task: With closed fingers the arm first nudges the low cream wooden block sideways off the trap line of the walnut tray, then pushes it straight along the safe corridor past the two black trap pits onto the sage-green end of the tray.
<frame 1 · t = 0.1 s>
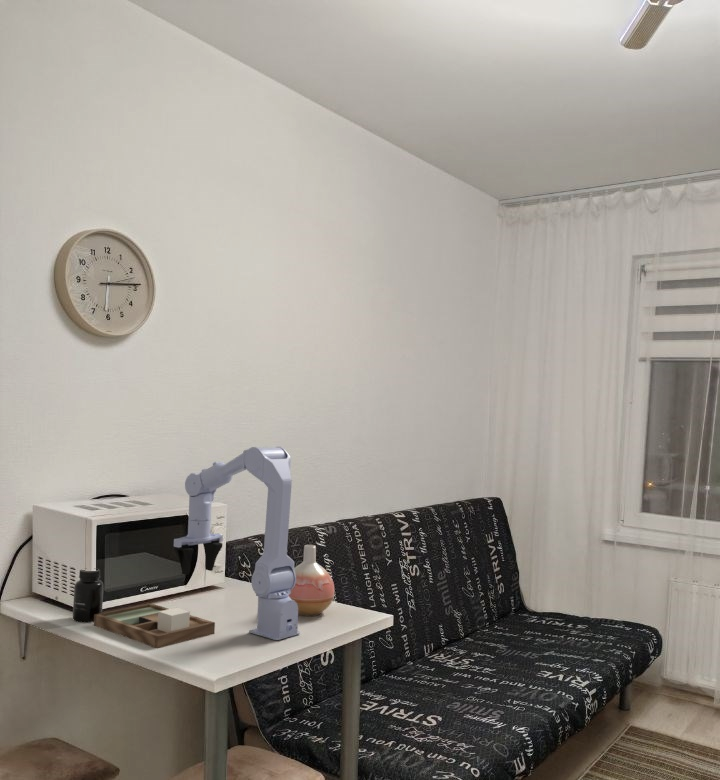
hand: (197, 572, 201), 10 cm above the table, fingers open, 7 cm apart
vase: (307, 614, 202), on the table
cream block: (173, 629, 177), point 2 cm above the table, touching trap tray
supplement bottle: (87, 620, 190), on the table
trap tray: (153, 629, 183), on the table
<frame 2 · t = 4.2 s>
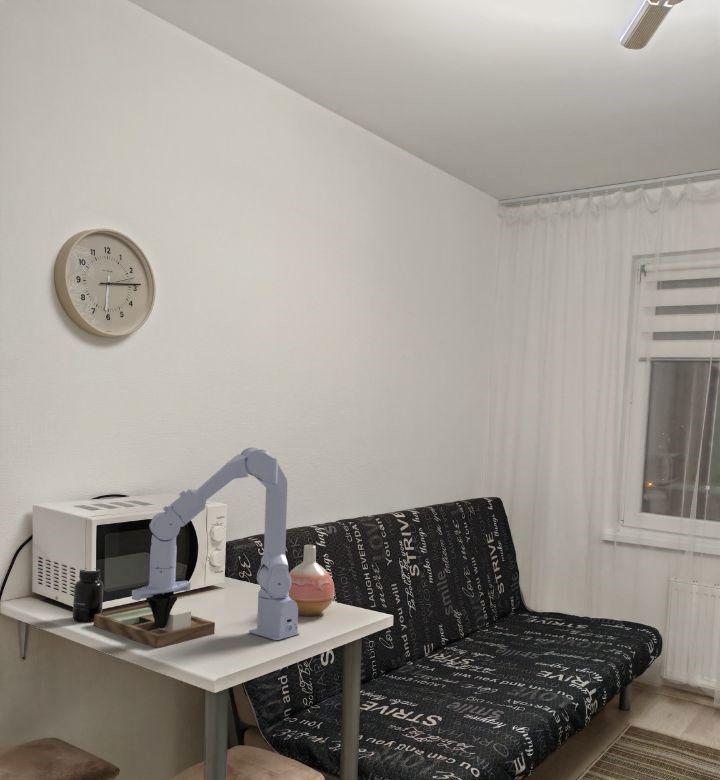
hand: (160, 627, 174), 3 cm above the table, fingers closed
cream block: (174, 628, 177), point 2 cm above the table, touching gripper
everything else where it was.
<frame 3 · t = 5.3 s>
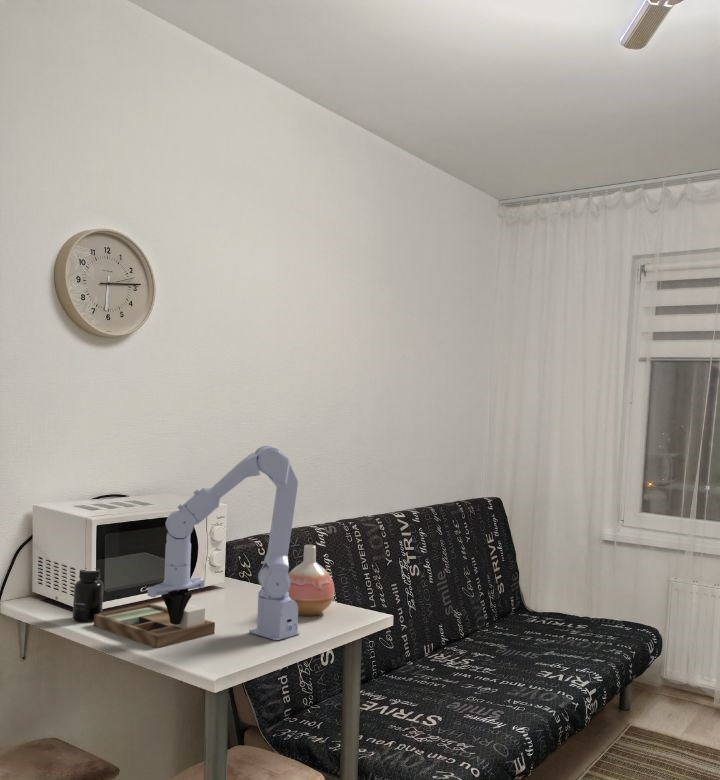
hand: (175, 623, 177), 3 cm above the table, fingers closed
cream block: (188, 625, 180), point 2 cm above the table, touching gripper, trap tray
everything else where it was.
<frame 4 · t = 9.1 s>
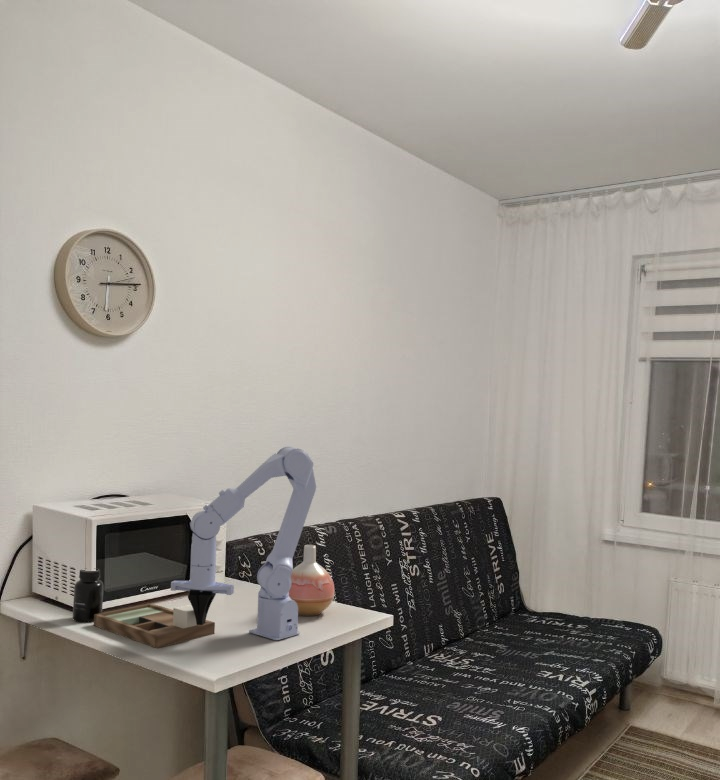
hand: (200, 623, 177), 3 cm above the table, fingers closed
nothing on the table moved.
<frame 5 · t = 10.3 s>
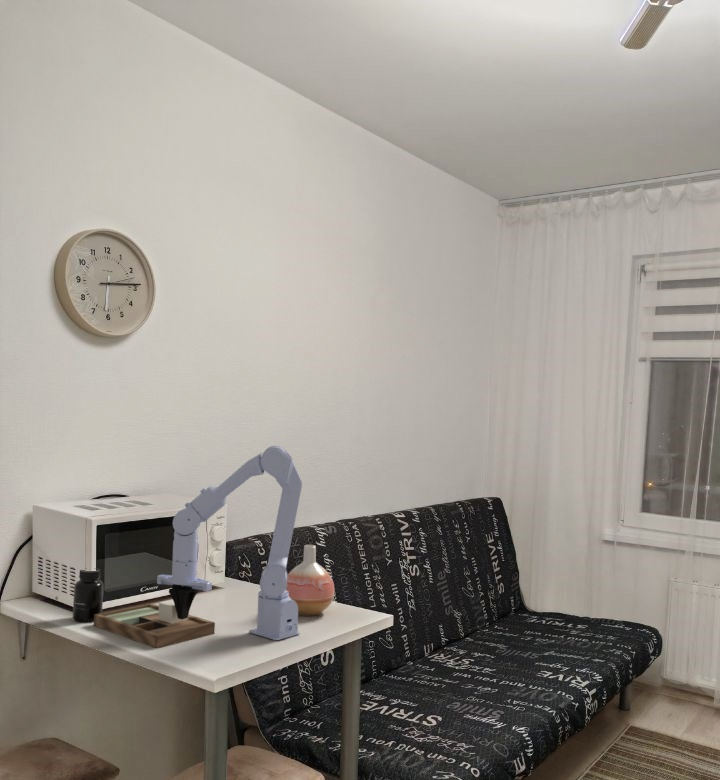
hand: (182, 618, 182), 3 cm above the table, fingers closed
cream block: (173, 619, 185), point 2 cm above the table, touching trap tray
everything else where it was.
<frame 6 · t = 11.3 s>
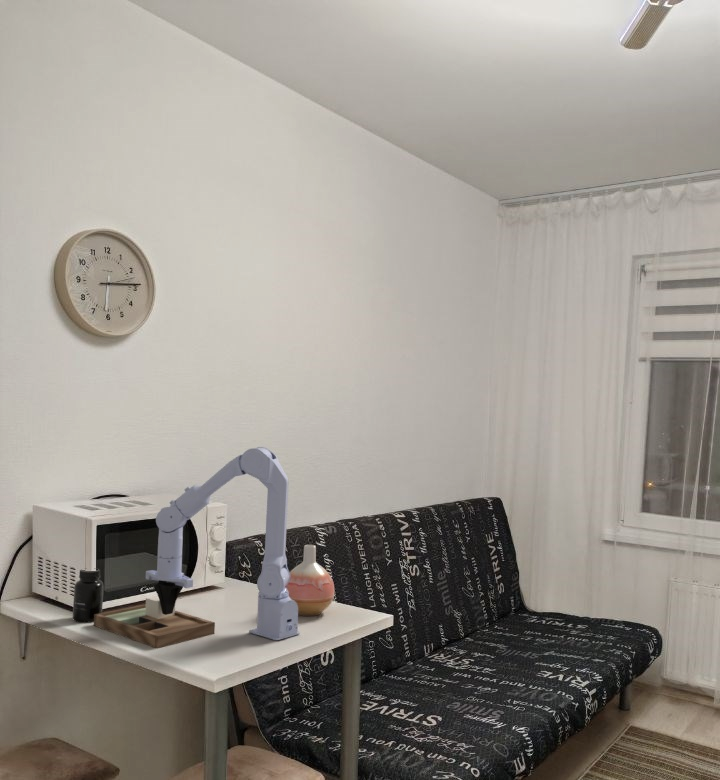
hand: (167, 613, 185), 3 cm above the table, fingers closed
cream block: (160, 614, 189), point 2 cm above the table
everything else where it was.
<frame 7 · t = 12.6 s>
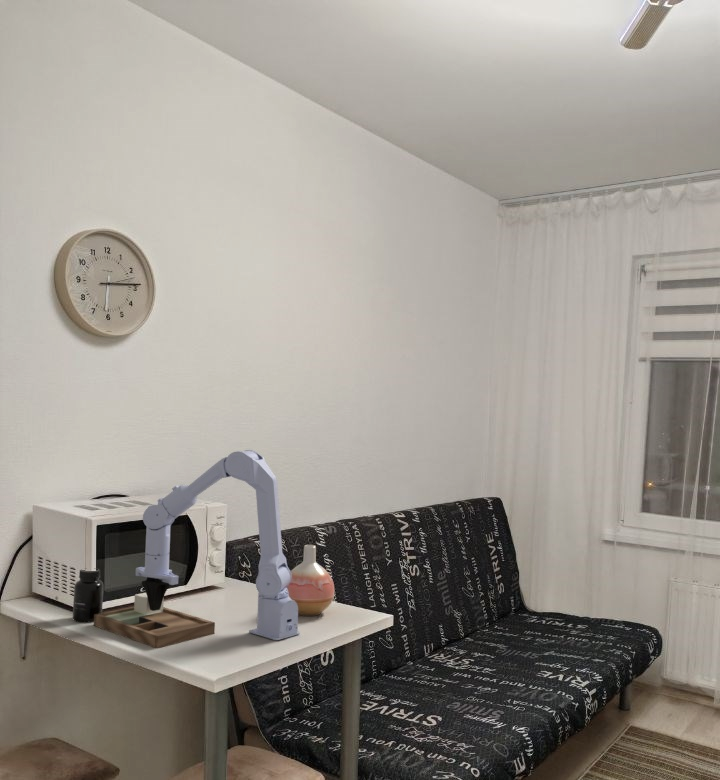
hand: (155, 609, 188), 3 cm above the table, fingers closed
cream block: (148, 611, 192), point 2 cm above the table, touching gripper
everything else where it was.
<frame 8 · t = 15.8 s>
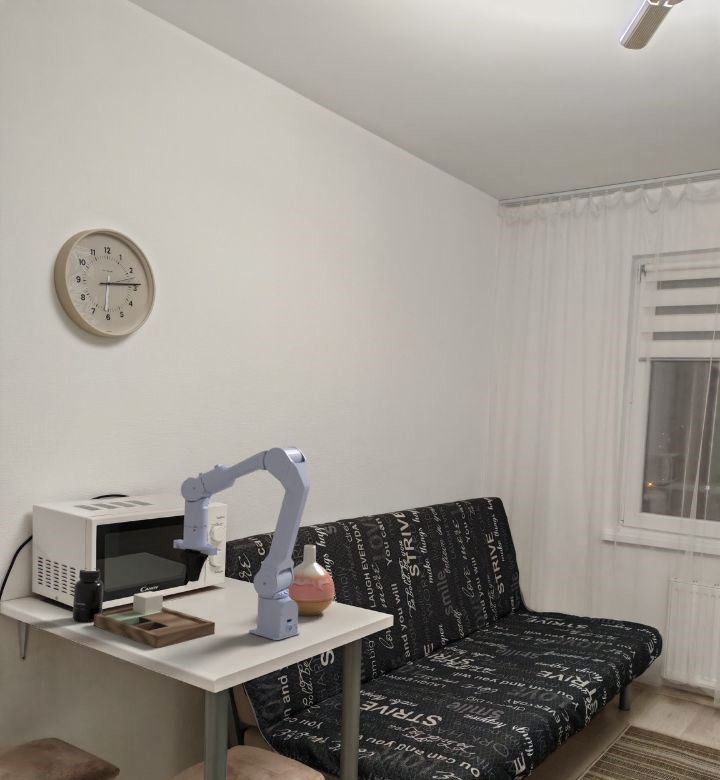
hand: (193, 580, 191), 10 cm above the table, fingers closed
cream block: (147, 610, 192), point 2 cm above the table, touching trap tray
everything else where it was.
at the end: cream block inside the target area on the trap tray (1.3 cm from its centre), point 2.0 cm above the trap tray's base; cream block tilted 0° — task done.
